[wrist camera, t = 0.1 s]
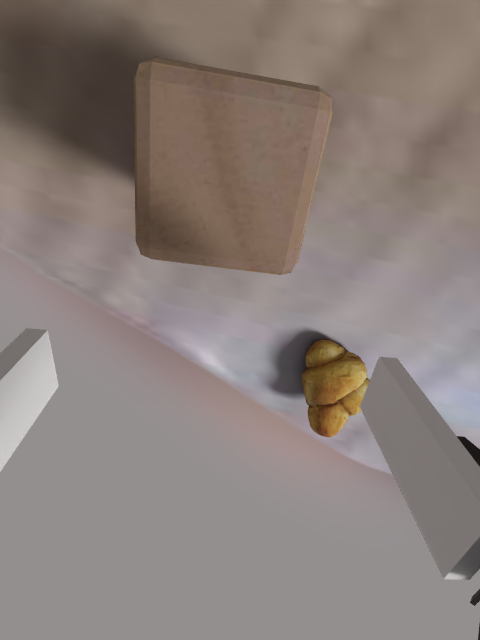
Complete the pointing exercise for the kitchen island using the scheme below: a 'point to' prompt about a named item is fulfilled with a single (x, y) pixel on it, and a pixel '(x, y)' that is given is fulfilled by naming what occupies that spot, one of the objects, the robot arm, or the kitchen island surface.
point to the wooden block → (225, 165)
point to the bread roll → (332, 386)
